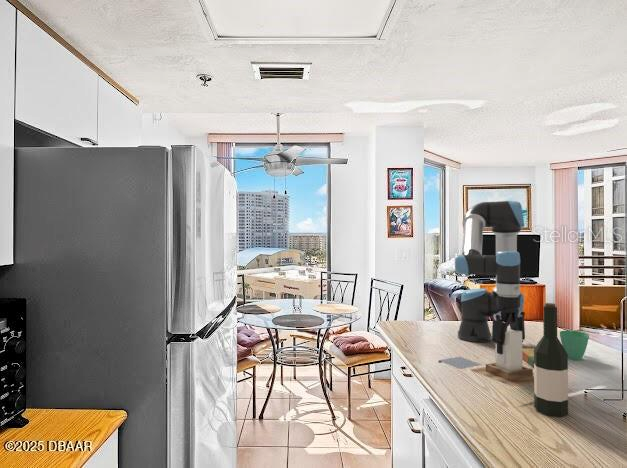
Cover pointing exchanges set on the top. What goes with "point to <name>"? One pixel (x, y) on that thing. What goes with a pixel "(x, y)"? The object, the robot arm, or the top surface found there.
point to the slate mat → (459, 362)
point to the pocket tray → (507, 374)
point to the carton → (528, 356)
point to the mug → (574, 343)
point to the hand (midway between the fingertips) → (508, 361)
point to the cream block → (511, 351)
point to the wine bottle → (550, 369)
